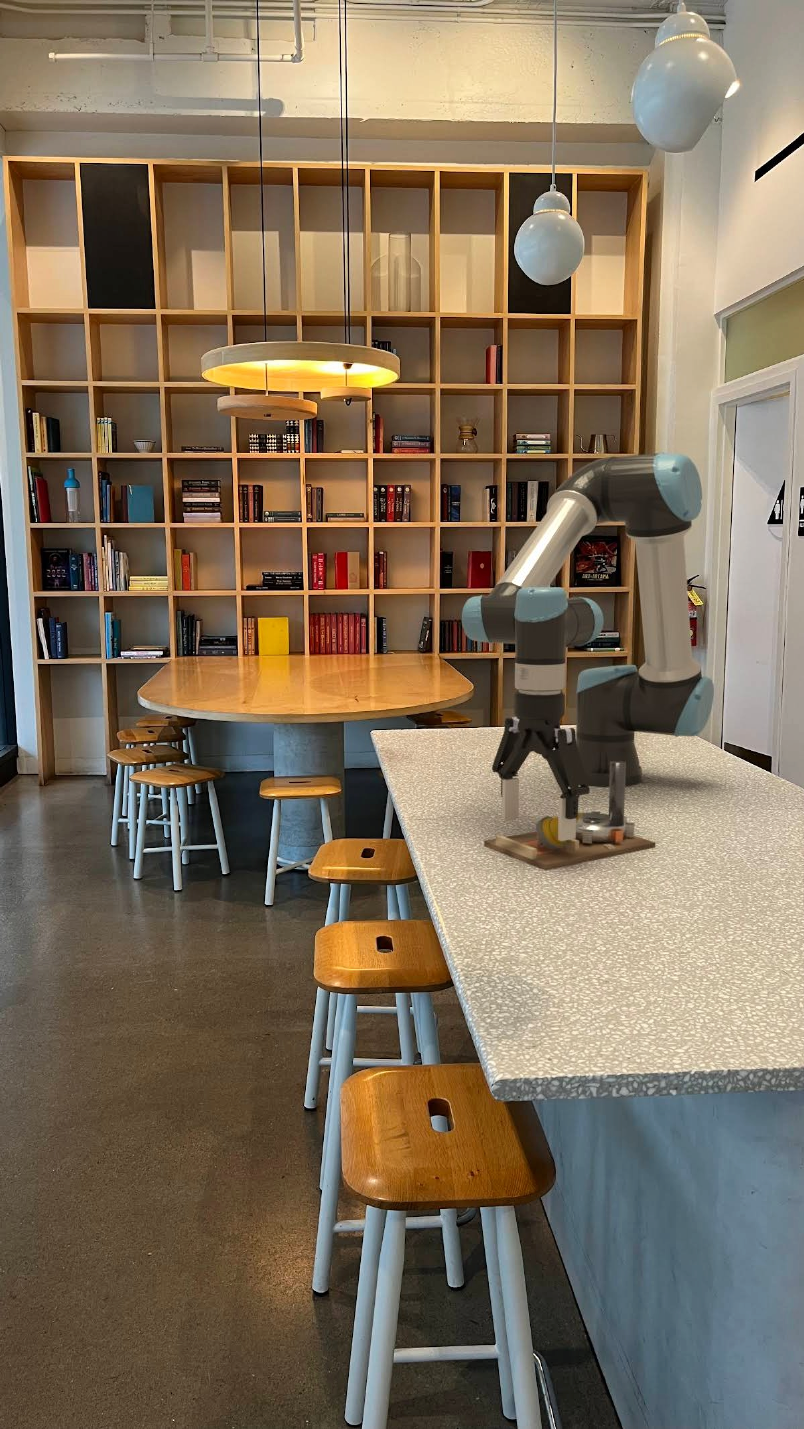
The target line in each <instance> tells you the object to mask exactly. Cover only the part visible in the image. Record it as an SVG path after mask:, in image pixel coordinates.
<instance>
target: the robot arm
mask: <svg viewBox="0 0 804 1429" xmlns="http://www.w3.org/2000/svg"><path fill="white" fill-rule="evenodd" d="M702 500H703V488H702V483H701V478H700V474H699V471H698V469H697V467H696V465H695V463H694V462H693V460H692V459H691V458H690V457H689V456H687V455H686V454H682V453H665V452H660V453H659V452H658V453H650V454H649V453H648V454H634V455H626V456H623V455H622V456H606V457H603V458H599V459H596V460H594V461H592V462H590V463H588V464H586V465H584V466H583V467H581V468H579V469H577V471H575V472H573V473H572V474H571V475H569V477H568V478H567V479H565V480H564V481H563V482H562V483H561V484H560V485H559V486H558V488H557V489H556V490H555V491H554V492H553V494H552V495H551V496H550V497H549V499H548V501H547V504H546V514H544V516H543V517H542V519H541V521H540V522H539V523H538V524H537V526H536V527H535V529H534V530H533V532H532V533H531V534H530V536H529V538H527V541H525V543H524V545H523V546H522V548H521V549H520V550H519V552H518V553H517V554H516V556H515V557H514V559H513V560H512V562H511V563H510V565H509V566H508V567H507V569H506V570H505V572H504V573H503V575H501V578H499V580H498V581H497V583H496V584H495V586H494V587H493V589H492V590H491V591H490V593H489V594H488V595H487V596H486V595H484V594H483V595H482V594H481V595H478V596H471V598H468V599H467V600H466V602H465V604H464V606H463V608H462V610H461V611H462V612H461V625H462V628H463V630H464V633H465V634H464V635H466V637H467V638H469V640H471V641H475V642H480V643H481V642H482V643H488V644H514V646H515V647H514V648H515V653H514V654H515V656H514V664H515V665H514V688H515V689H516V690H518V691H516V692H515V693H514V698H513V699H514V700H513V701H514V702H513V703H514V706H513V711H514V712H513V714H514V716H512V717H506V718H505V719H504V731H503V733H502V737H501V740H500V742H499V745H498V748H497V752H496V755H495V757H494V760H493V764H492V766H491V770H492V772H493V773H497V774H498V776H499V778H500V795H501V821H504V822H507V821H511V820H518V819H519V816H520V815H519V812H520V811H519V810H520V809H519V805H520V802H519V800H520V778H519V774H518V773H519V770H520V769H521V768H522V766H523V764H524V763H525V761H526V760H527V759H528V756H529V755H530V753H532V752H534V753H535V754H536V755H541V756H542V758H543V759H544V760H546V761H547V763H548V766H549V768H550V770H551V773H552V775H553V776H554V778H555V781H556V783H557V785H558V787H559V789H560V792H561V794H560V796H558V816H557V817H558V840H560V841H565V840H570V839H575V838H576V818H577V817H578V813H579V799H580V797H581V796H583V795H588V794H590V790H591V789H590V786H591V787H592V786H594V787H604V788H605V787H609V784H610V762H611V761H624V762H626V772H625V787H628V786H633V785H637V784H640V783H642V781H643V768H642V766H641V765H640V760H639V756H638V752H637V748H636V745H635V733H637V732H638V733H646V734H655V735H657V734H658V735H664V736H674V737H675V738H677V737H696V736H698V735H700V734H701V733H702V732H703V731H704V729H705V727H706V726H707V723H708V722H709V719H710V715H711V712H712V709H713V703H714V698H715V697H714V695H715V685H714V682H713V680H712V678H711V677H708V676H706V675H705V676H703V675H702V674H703V673H702V665H701V663H699V661H697V660H696V659H694V658H693V653H692V652H693V651H692V640H691V639H692V638H691V637H692V636H691V622H690V620H691V619H690V608H689V607H690V606H689V596H688V595H689V594H688V593H689V592H688V591H689V590H688V578H687V577H688V576H687V564H686V553H685V551H686V550H685V535H687V533H688V532H689V531H690V530H691V529H692V527H693V524H692V522H693V520H695V519H698V517H699V515H700V513H701V510H702ZM610 522H612V523H613V522H614V523H621V522H622V523H623V522H624V526H625V535H626V536H627V537H628V538H630V539H631V540H632V541H633V542H634V543H635V553H636V565H637V575H638V577H637V578H638V590H639V600H640V611H641V622H642V635H643V644H644V646H643V647H644V656H645V662H644V663H643V664H642V665H641V666H640V668H639V669H638V668H637V666H636V665H635V664H625V665H624V664H622V665H608V666H601V667H594V668H587V669H584V670H582V671H581V672H579V674H578V678H577V686H576V691H575V695H576V725H575V726H576V728H574V727H570V728H569V727H568V728H561V724H560V721H561V719H562V718H564V716H565V707H566V695H565V693H564V692H562V691H563V690H564V689H565V688H566V673H567V671H566V655H567V654H566V652H567V650H566V648H570V647H582V646H583V645H586V644H588V643H592V642H593V641H594V640H596V639H598V637H599V636H600V634H601V632H602V630H603V627H604V622H605V621H604V614H603V611H602V609H601V608H600V606H599V604H597V603H596V601H594V600H592V599H590V598H587V597H582V596H578V597H577V596H572V597H568V596H567V592H566V590H565V588H562V587H560V586H558V587H556V586H554V587H552V586H550V585H551V583H552V582H553V581H554V579H555V578H556V577H557V574H558V573H559V571H560V570H561V568H563V566H564V564H565V563H566V561H567V560H568V558H569V557H570V555H571V553H572V552H573V550H574V549H575V547H576V545H577V544H578V543H579V541H580V540H581V538H582V537H583V536H586V535H589V534H590V533H591V532H592V531H593V530H594V529H595V527H596V526H597V525H599V524H600V525H601V524H604V523H610Z"/></svg>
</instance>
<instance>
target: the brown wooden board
mask: <svg viewBox="0 0 804 1429" xmlns="http://www.w3.org/2000/svg"><path fill="white" fill-rule="evenodd" d="M538 840H539V837H538V835H537V831H530V832H525V833H520V834H515V835H509V836H508V835H507V836H504V835H501V834H498V835H495V838H491V839H487V840H485V839H484V840H483V846H484V848H488V849H490V850H493V851H495V852H498V853H500V854H501V855H502V854H503V855H506V856H507V857H510V858H513V859H515V860H518V861H520V862H523V863H524V864H528V865H530V866H533V867H535V868H538V869H541V870H543V871H550V870H553V869H558V868H563V867H568V866H574V865H578V864H583V863H587V862H592V861H596V860H601V859H602V860H603V859H606V858H611V857H615V856H620V855H625V854H629V853H630V854H631V853H635V852H639V851H644V850H649V849H654V848H656V841H655V842H654V841H652V840H648V839H645V838H642V837H639V836H636V835H634V836H625V837H624V838H623V841H622V842H616V843H615V842H612V841H602V842H594V841H593V842H592V843H583V841H581V840H575V839H570V840H567V844H566V846H565V847H563V848H562V849H560V850H558V851H552V850H550V849H548V848H547V847H546V846H545V845H541V846H537V843H538Z"/></svg>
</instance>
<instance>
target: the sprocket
mask: <svg viewBox="0 0 804 1429" xmlns="http://www.w3.org/2000/svg"><path fill="white" fill-rule="evenodd" d="M625 772H626V762H624V761H611V762H610V784H609V789H608V790H609V794H608V813H601V811H594V810H593V811H591V812H581V813H582V815H581V817H580V818H579V820H577V821H578V822H577V823H576V838H575V840H581V841H583V843H592V842H593V841H594V842H602V841H612V842H615V843H616V842H622V841H623V838H624V837H625V836H635V822H628V817H627V816H625V805H626V804H625V798H626V786H625ZM551 817H552V818H554V816H551Z"/></svg>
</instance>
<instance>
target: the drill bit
mask: <svg viewBox="0 0 804 1429" xmlns="http://www.w3.org/2000/svg"><path fill="white" fill-rule="evenodd" d="M582 813H583V812H578V817H577V818H576V823H577V822H578V821H577V820H579V818H580V817H581V815H582ZM552 817H554V816H549V815H547V816H543V818H541V819H540V820H538V821H537V822H536V828H535V829H536V831H537V835H538V837H539V840H538V843H537V846H541V845H545V846H546V847H547V848H548V849H550V850H552V851H558V850H560V849H562V848H563V847H565V846H566V844H567V840H565V841H560V840H558V817H559V816H555V817H554V818H552ZM536 831H535V832H536Z"/></svg>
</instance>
